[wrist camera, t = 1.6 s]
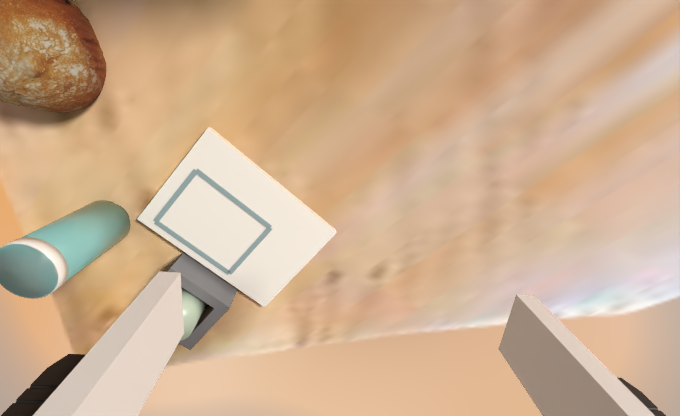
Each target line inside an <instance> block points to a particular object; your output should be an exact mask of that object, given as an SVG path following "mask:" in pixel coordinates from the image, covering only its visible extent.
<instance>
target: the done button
mask: <svg viewBox="0 0 680 416" xmlns="http://www.w3.org/2000/svg"><path fill="white" fill-rule="evenodd" d="M181 289H182V306H183V322H184V334H183V336H182V338H181V340H180V341H182V340H184V339H186V338H188V337H189V336H190V335H191V333H192V332H193V330H194V328H195V326H196V324H197V322H198V320H199V319H200V317H201V315H202V313H203V311H204V309H205V307H206V305H207V303H205V302H204V301H202V300H201V299H199V298H197V297H196V296H194V295H193V294H191V293H190V292H188V291H187V290H185V289H184V288H182V287H181Z"/></svg>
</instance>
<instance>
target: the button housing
mask: <svg viewBox="0 0 680 416" xmlns="http://www.w3.org/2000/svg"><path fill="white" fill-rule="evenodd" d="M167 272H178V273H181V287H182V288H184V289H185V290H187V291H188V292H190V293H191V294H193V295H194V296H196V297H197V298H199V299H201V300H202V301H204V302H205V303H207V304H208V305H209V306H208V308H207V309H206V310H205V311H204V312H203V313H202V315H201V317H200V319H199V320H198V322H197V324H196V326H195V328H194V330H193V332H192V333H191V335H190V336H189V337H188V338H186V339H184V340H182V341H179V344H181V345H183V346H184V347H186V348H187V349H189V350H191V349H192V348H193V347H194V345H195V344H196V343H197V342H198V341H199V340H200V339H201V338H202V337H203V336H204V335H205V334H206V333H207V332H208V330H209V329H210V328H211V327H212V326H213V325H214V324H215V323H216V322H217V321H218V320H219V319H220V318H221V317H222V315H223V314H224V313H225V312H226V311H227V310H228V309H229V308H230V306H231V304H232V301H233V299H234V297H235V294H236V292H237V290H238V289H237V288H236V287H234V286H233V285H231V284H230V283H229V282H227V281H226V280H224V279H223V278H221V277H220V276H218V275H217V274H216V273H214V272H213V271H211V270H210V269H208V268H207V267H205V266H204V265H203V264H201V263H200V262H198V261H197V260H195V259H194V258H192V257H191V256H189V255H188V254H187V253H185V252H184V253H183V254H182V255H181V256H180V257H179V258H178V260H177V261H176V262H175V263H174V264H173V265H172V267H171V268H170V269H169V270H168V271H167Z"/></svg>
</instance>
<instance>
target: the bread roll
mask: <svg viewBox="0 0 680 416" xmlns="http://www.w3.org/2000/svg"><path fill="white" fill-rule="evenodd" d="M105 77H106V62H105V59H104V56H103V52H102V50H101V48H100V45H99V42H98V40H97V38H96V35H95V33H94V31H93V28H92V26H91V24H90V23H89V21H88V19H87V18H86V17H85V16H84V15H83V14H82V12H81V11H80V9H79V8H78V7H77V6H76V5H75V4H73V3H72V2H70V1H69V0H0V100H1V101H3V102H7V103H12V104H16V105H19V106H20V105H23V106H30V107H33V108H37V109H42V110H45V111H55V112H70V111H74V110H78V109H81V108H84V107H86V106H88V105H90V104H91V103H92V102H93V101H94V100H95V98H96V97H97V96H98V95H99V93H100V92H101V90H102V87H103V85H104V81H105Z"/></svg>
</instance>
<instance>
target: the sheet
mask: <svg viewBox="0 0 680 416" xmlns="http://www.w3.org/2000/svg"><path fill="white" fill-rule="evenodd" d="M137 220H139V221H140V222H142V223H143V224H145V225H146V226H147V227H149V228H150V229H152V230H153V231H155V232H156V233H158V234H159V235H161V236H162V237H163V238H165V239H166V240H168V241H169V242H171V243H172V244H174V245H175V246H176V247H178V248H179V249H181V250H182V251H184V252H185V253H187V254H188V255H189V256H191V257H192V258H194V259H195V260H197V261H198V262H200V263H201V264H203V265H204V266H205V267H207V268H208V269H210V270H211V271H213V272H214V273H216V274H217V275H218V276H220V277H221V278H223V279H224V280H226V281H227V282H229V283H230V284H231V285H233V286H234V287H236V288H237V289H239V290H240V291H242V292H243V293H244V294H246V295H247V296H249V297H250V298H252V299H253V300H255V301H256V302H258V303H259V304H260V305H262V306H263V307H265V306H266V305H267V304H268V303H269V302H270V301H271V300H272V299H273V298H274V297H275V296H276V295H277V294H278V293H279V292H280V291H281V290H282V289H283V288H284V287H285V286H286V285H287V283H288V282H289V281H290V280H291V279H292V278H293V277H294V276H295V275H296V274H297V273H298V272H299V271H300V270H301V269H302V268H303V267H304V266H305V265H306V264H307V263H308V262H309V261H310V260H311V259H312V258H313V257H314V256H315V255H316V254H317V252H318V251H319V250H320V249H321V248H322V247H323V246H324V245H325V244H326V243H327V242H328V241H329V240H330V239H331V238H332V237H333V236H334V235H335V234H336V229H334V228H333V227H332V226H331V225H329V224H328V223H327V222H326V221H325V220H323V219H322V218H321V217H320V216H318V215H317V214H316V213H315V212H314V211H312V210H311V209H310V208H309V207H308V206H306V205H305V204H304V203H303V202H301V201H300V200H299V199H298V198H297V197H295V196H294V195H293V194H292V193H290V192H289V191H288V190H287V189H286V188H284V187H283V186H282V185H281V184H279V183H278V182H277V181H276V180H275V179H273V178H272V177H271V176H270V175H268V174H267V173H266V172H265V171H264V170H262V169H261V168H260V167H259V166H257V165H256V164H255V163H254V162H253V161H251V160H250V159H249V158H248V157H246V156H245V155H244V154H243V153H242V152H240V151H239V150H238V149H237V148H235V147H234V146H233V145H232V144H231V143H229V142H228V141H227V140H226V139H224V138H223V137H222V136H221V135H220V134H218V133H217V132H216V131H215V130H214V129H212V128H211V127H209V128H207V130H206V131H205V132H204V134H203V135H202V136H201V137H200V139H199V140H198V141H197V143H196V144H195V145H194V146H193V148H192V149H191V150H190V152H189V153H188V154H187V155H186V157H185V158H184V159H183V161H182V162H181V163H180V164H179V166H178V167H177V168H176V170H175V171H174V172H173V173H172V175H171V176H170V177H169V179H168V180H167V181H166V182H165V184H164V185H163V186H162V188H161V189H160V190H159V191H158V193H157V194H156V195H155V197H154V198H153V199H152V200H151V202H150V203H149V204H148V206H147V207H146V208H145V210H144V211H143V212H142V213H141V215H140V216H139V217H138V219H137Z"/></svg>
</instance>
